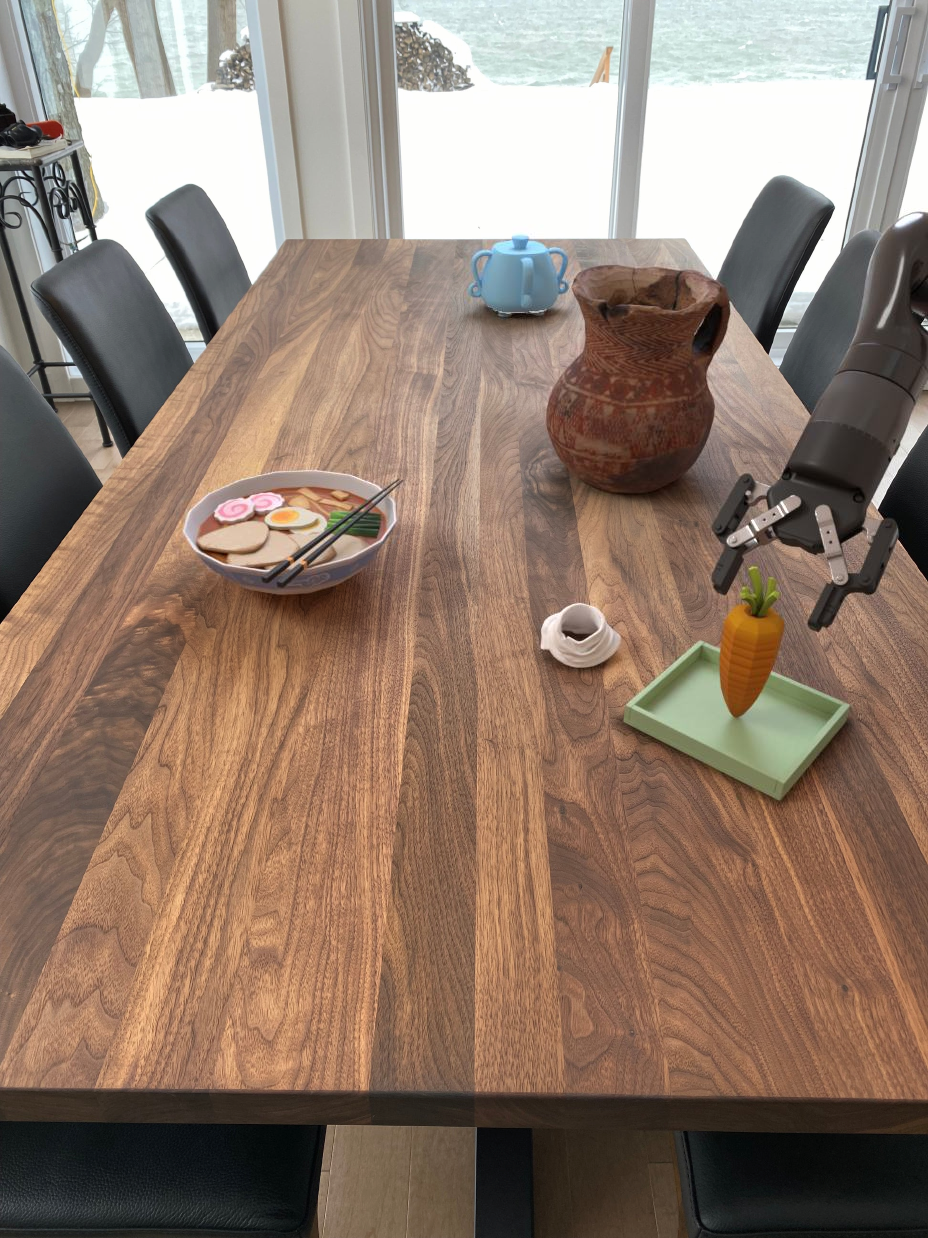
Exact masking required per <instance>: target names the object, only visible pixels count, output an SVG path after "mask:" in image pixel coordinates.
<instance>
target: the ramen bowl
mask: <svg viewBox="0 0 928 1238" xmlns="http://www.w3.org/2000/svg"><path fill="white" fill-rule="evenodd" d="M403 482H404V479H401V480H400V478H396V480H394V481H393V482H391V483H390V484H389V485H387V486H386V487H384V488H381V486H379V485H377V484H375V483H373V482H370V481H367V480H366V479H363V478H360V477H357V476H354V475H352V474H348V473H343V472H334V471H325V470H318V469H317V470H316V469H305V470H304V469H303V470H281V471H280V470H279V471H272V472H267V473H263V474H259V475H255V476H250V477H245V478H241V479H237V480H235V481H233V482H231V483H229V484H227V485H224V486H222V487H220V488H217V489H215V490H213V491H210V492H208V493H206V495H204V496H203V497H202V498H201V499H200V500H199V501H198V502H197V503H196V504H195V505H193V506H192V507H191V509H189V510H188V512H187V515H186V516H185V521H184V524H183V527H182V530H181V531H182V534H183V536H184V537H185V539H186V540H187V542H188V543H189V544H190V546H191V548H192V549H193V551H194V552H195V553H196V554H197V556H198V557H199V558H200V560H201V561H202V562H203V563H204V564H205V565H207V566H208V567H209V568H210V569H211V570H212V571H213V572H214V573H216V574H218V575H219V576H221V577H222V578H224V579H226V580H228V581H229V582H231V583H233V584H236V585H238V586H239V587H241V588H243V589H245V590H249V591H253V592H254V591H255V592H260V593H267V594H273V595H279V596H281V595H282V596H283V595H285V596H286V595H300V594H301V595H303V594H310V593H314V592H317V591H321V590H323V589H324V590H325V589H328V588H329V589H330V588H331V587H335V586H337V585H339V584H341V583H343V582H345V581H347V580H349V579H350V578H352V577H353V576H355V575H357V574H359V573H360V572H362V571H364V569H365V568H366V567H368V566H369V565H370V563H371V562H372V561H373V560H374V558H375V556H376V555H377V553H378V552H379V551H380V549H381V548H382V547H383V545H384V544H385V543H386V541H387V540H388V538H389V537H390V535H391V534H392V531H393V529H394V528H395V525H396V524H397V509H396V501H395V500H394V499H393V498H392V497H391V496H390V495H389V494H390V493H391V492H393V491H394V490H395V489H396V488H397V487H398V486H399V485H401V484H402V483H403ZM392 486H393V487H392ZM389 488H390V489H389ZM387 490H388V491H387Z"/></svg>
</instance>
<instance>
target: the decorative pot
mask: <svg viewBox="0 0 928 1238" xmlns="http://www.w3.org/2000/svg"><path fill="white" fill-rule="evenodd" d="M552 254H557V255H560V256H561V258H562V263H561V267H560V269H559V272H558V274H557V270H556V267H555V264H554V261H553V258H552ZM483 257H487V258H486V261H485V263H484V265H483V268H482V272H481V275H480V274H479V271H478V266H477V265H478V264H477V263H478V260H479V259H480V258H483ZM568 265H569V257H568V254H567V253H566V252H565V251H564V250H563V249H562V248H560V247H556V246H555V247H553V246H552V247H549V248H547V246H546V245H544V244H543V243H541V242H539V241H535V240H530V237H529V236H528V235H526V234H515V235H513V236H511V239H510V240H505V241H499V242H496V243H495V244H493V246H492V248H491V249H490V250H489V249H481V250H479V251H476V253H474V254H473V256H472V257H471V259H470V269H471V272H472V275H473V276H472V277H473V279H474V281H475V282H472V283H471V284H470V285H469V286H468V294H469V296H470V297H472V298H476V299H477V298H481V299H482V301H483V302H484V304H485V306H486V307H487V306H489V307H490V308H492V309H494V310H497V311H502V312H529V311H539V310H545V309H549V308H550V309H551V308H552V307H553V306H554V305H555V303H556V301H557V299H558V297H559V295H564V294H566V293H567V292H568V291H569V287H570V284H569V282H568V280H566V279H563V278H564V276H565V274H566V272H567V270H568ZM561 285H564V286H563V287H562V288H561ZM474 288H477V290H476V291H474ZM489 307H488V308H489ZM490 308H489V309H490ZM492 309H491V310H492ZM550 309H549V310H550ZM497 313H498V314H497V316H498V317H501V318H508V317H512V315H513V314H506V313H499V312H497ZM530 314H531V315H532V316H543V315H545V312H539V313H530Z"/></svg>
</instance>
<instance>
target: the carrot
mask: <svg viewBox="0 0 928 1238" xmlns="http://www.w3.org/2000/svg"><path fill="white" fill-rule="evenodd" d="M748 574H749V578H750V581H751V584H752V589H753V593H752V592H751V590H750V587H748V586H743V587H741V591H742V592H741V593H739V595H738V597H739V599H740V600H742V601H745V602H746V603H740V604H736V605H734V606H733V607H732V608H731V610H730V611H729V612H728V614H727V616H726V617H725V619H724V622H723V627H722V634H721V640H720V647H719V649H720V657H719V669H720V685H721V690H722V694H723V697H724V700H725V703H726V705H727V707H728V710H729V712H730V713H731V715H732V716H734V717H735V718H737V717H740V716H742V715H743V714H744V713H746V712H747V711H748V710H749V709H750V708H751V706H752V705H753V704H754V703H755V701H756V700H757V698H758V697H759V695H760V693H761V692H762V690H763V688H764V686H765V684H766V682H767V680H768V678H769V676H770V673H771V671H773V669H774V667H775V664H776V662H777V661H776V660H777V657H778V654H779V651H780V646H781V644H782V640H783V636H784V633H785V629H786V628H785V627H786V623H785V621H784V620H783V618H782V617H781V616H780V614H778V612H777V611H775V609H774V608H773V607H772V606H773V605H774V603H775V602H776V601H778V600H779V598H780V597H781V594H780V593H779V591H777V590H776V589H777V584H778V582H777V580H776V579H775V578H774V577H773V576H772V577H771V576H769V577H767V583H766V589H765V590H766V591H765V595H764V585H763V580H762V576H761V573H760V570H759V567H758V566H750V567H749V568H748Z"/></svg>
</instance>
